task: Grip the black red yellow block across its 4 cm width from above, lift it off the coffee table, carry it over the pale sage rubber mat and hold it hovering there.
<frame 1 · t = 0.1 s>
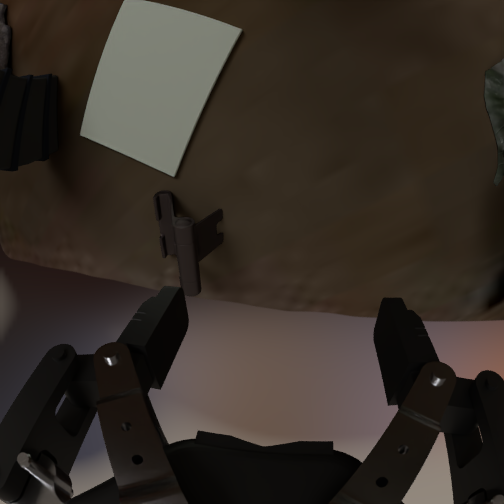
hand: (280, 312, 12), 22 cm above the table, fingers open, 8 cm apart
portable electronic device stand: (192, 221, 37), on the table
sage mat: (148, 82, 27), on the table
black red yellow block: (50, 105, 29), on the table
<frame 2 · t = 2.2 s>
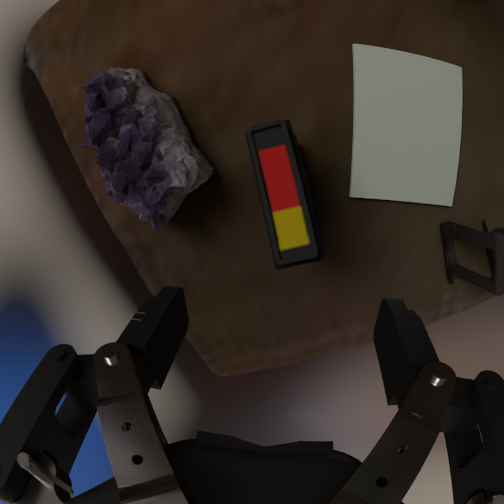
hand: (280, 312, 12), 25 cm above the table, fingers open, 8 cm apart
portable electronic device stand: (463, 241, 33), on the table
geode: (152, 138, 33), on the table
sage mat: (410, 126, 28), on the table
black red yellow block: (290, 175, 33), on the table
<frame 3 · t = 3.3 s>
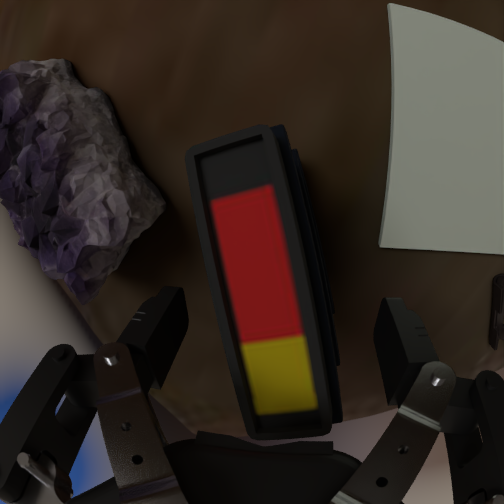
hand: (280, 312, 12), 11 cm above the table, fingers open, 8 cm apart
geode: (84, 156, 21), on the table
sage mat: (472, 139, 16), on the table
black red yellow block: (287, 212, 21), on the table
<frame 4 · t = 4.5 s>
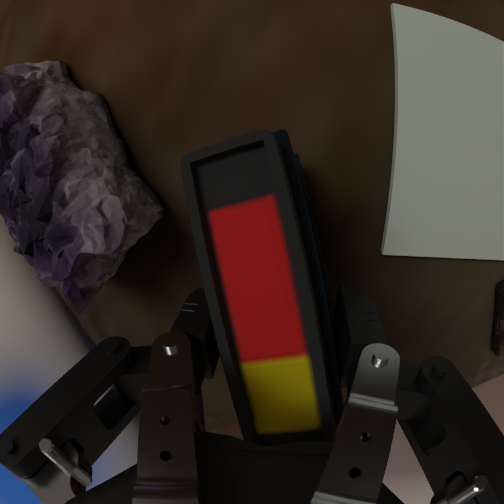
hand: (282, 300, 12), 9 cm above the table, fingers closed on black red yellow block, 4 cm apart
geode: (80, 160, 21), on the table
sage mat: (476, 143, 16), on the table
black red yellow block: (288, 219, 21), on the table, touching gripper
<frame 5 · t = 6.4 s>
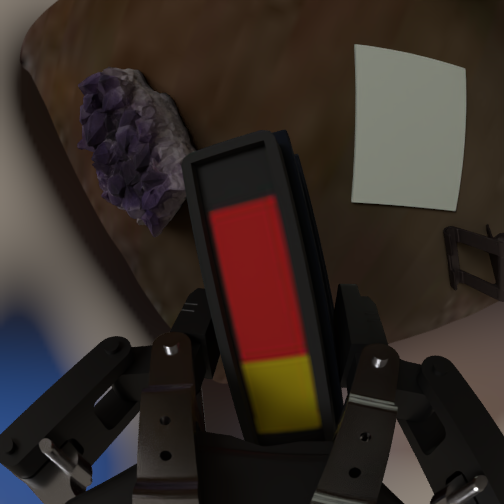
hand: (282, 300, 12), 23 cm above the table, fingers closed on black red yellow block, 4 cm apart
portable electronic device stand: (467, 246, 33), on the table
geode: (149, 140, 33), on the table
sage mat: (413, 129, 28), on the table
black red yellow block: (288, 219, 21), point 13 cm above the table, touching gripper
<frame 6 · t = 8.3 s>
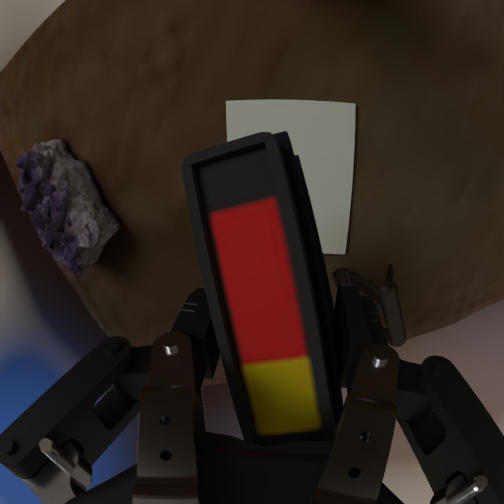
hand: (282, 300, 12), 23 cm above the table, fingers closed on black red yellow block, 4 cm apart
portable electronic device stand: (367, 285, 38), on the table
geode: (77, 196, 38), on the table
sage mat: (290, 178, 33), on the table
black red yellow block: (288, 220, 21), point 14 cm above the table, touching gripper
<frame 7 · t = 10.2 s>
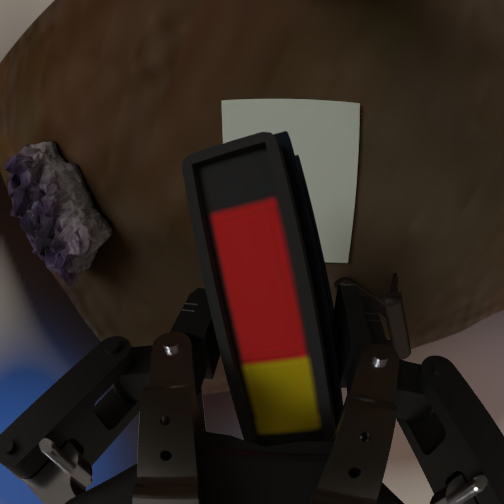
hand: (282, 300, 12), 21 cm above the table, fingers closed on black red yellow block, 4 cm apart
portable electronic device stand: (371, 294, 36), on the table
geode: (68, 200, 36), on the table
sage mat: (290, 183, 31), on the table
black red yellow block: (288, 220, 21), point 12 cm above the table, touching gripper
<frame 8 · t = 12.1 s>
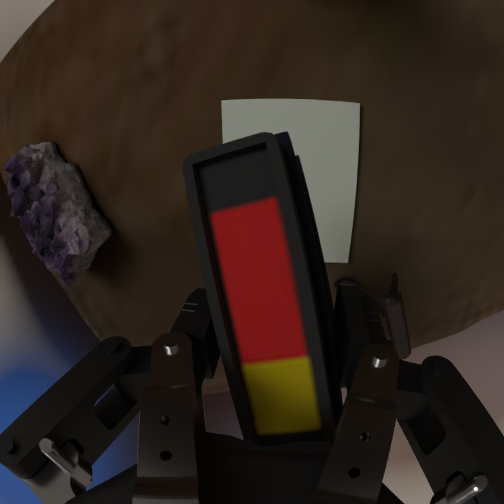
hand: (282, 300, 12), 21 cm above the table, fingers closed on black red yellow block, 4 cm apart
portable electronic device stand: (371, 294, 36), on the table
geode: (68, 200, 36), on the table
sage mat: (290, 183, 31), on the table
black red yellow block: (288, 220, 21), point 12 cm above the table, touching gripper
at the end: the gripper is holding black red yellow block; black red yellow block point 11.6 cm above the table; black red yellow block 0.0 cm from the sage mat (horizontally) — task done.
